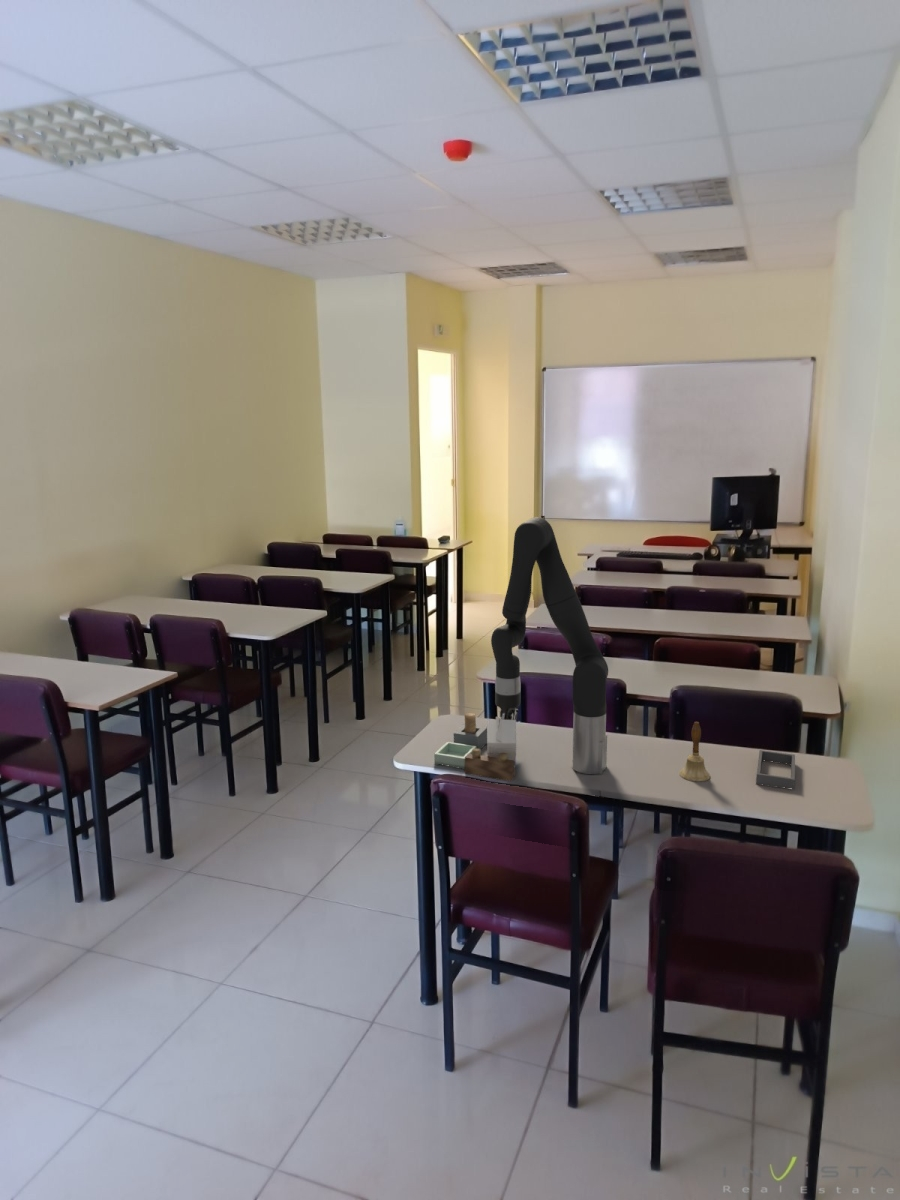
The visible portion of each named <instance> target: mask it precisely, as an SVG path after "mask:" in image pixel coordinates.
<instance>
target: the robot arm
mask: <svg viewBox="0 0 900 1200" xmlns="http://www.w3.org/2000/svg"><path fill="white" fill-rule="evenodd" d="M512 550H513V552H512V563H511V569H510V576H509V581H508V585H507V588H506V592H505V597H504V602H503V605H502V611H501V613H502V616H503V617H504V618H505V619H506V623H505V624H504V625H501V626H499V627H496V628H495V629H494V631H493V632H492V634H491V637H490V642H491V648H492V652H493V656H494V660H495V682H494V683H495V685H494V687H495V688H494V690H495V693H494V699H495V700H494V703H495V706H497V707H498V708H499V709H500V711H499V718H500V719H502V720H516V721H517V720H518V715H519V709H518V708H519V707H520V706H521V696H522V695H521V688H522V687H521V686H522V685H521V676H520V675H521V673H520V671H521V663H520V658H519V657H518V656H517V655H515V654H514V653H513V648H515V647H517V646H520V644H522V642H523V641H524V639H525V637H526V632H527V631H526V630H527V617H526V615H527V612H528V608H529V605H530V600H531V596H532V580H533V579H532V578H533V571H534V567H535V564H536V563H537V567H538V569H539V573H540V583H541V589H542V590H541V592H542V597H543V602H544V604H545V606H546V609H547V612H548V614H549V616H550V618H551V620H552V622H553V624H554V626H555V627H556V628H557V630H558V631H559V633H560V634H561V635H562V636H563V638H564V639H565V641H566V642H567V644H568V646H569V649H570V651H571V654H572V656H573V660H574V663H575V664H574V665H575V667H574V669H573V672H572V705H573V720H572V721H573V725H572V769H573V770H574V771H576V772H577V773H580V774H584V775H596V774H598V775H599V774H600V775H602V774H603V773H604V771H605V769H606V768H607V764H608V763H607V762H608V761H607V759H608V757H607V755H608V735H607V734H606V733H607V730H606V729H607V728H606V726H607V699H606V697H607V696H606V695H607V679H608V676H609V666H608V663H607V661H606V659H605V657H604V656H603V654H602V652H601V650H600V649H599V647H598V645H597V642H596V641H595V639H594V637H593V635H592V632H591V628H590V626H589V623H588V619H587V616H586V614H585V610H584V609H583V608H584V607H583V606H582V603H581V601H580V600H581V599H580V597H579V595H578V594H577V591H576V588H575V587H574V584H573V582H572V579H571V577H570V575H569V574H570V573H569V572H568V570H567V568H566V565H565V563H564V561H563V559H562V556H561V555H562V554H561V553H560V549H559V545H558V543H557V538H556V535H555V531H554V529H553V527H552V526H551V523H549V522H548V521H547V520H546V519H545V518H544V517H543V518H542V517H540V516H539V517H537V516H535V517H532V518H529V519H528V520H526V521H524V522H522V523H520V524H519V525H518V526H517V528H516V530H515V532H514V537H513V549H512Z"/></svg>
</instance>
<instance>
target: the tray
mask: <svg viewBox="0 0 900 1200" xmlns="http://www.w3.org/2000/svg"><path fill="white" fill-rule="evenodd" d="M473 749H477V746H472V745H465V744H459V743H454V742H453V741H452V742H451V741H446V742H445V743H444V744H443V745H442V746H441V747H440V748H439V749H438V750H436V752H435V753H434V755H433V757H434V758H433V759H434V765H437V764H443V765H449V766H454V767H453V768H455V767H459V768H458V769H461V768H462V770H465V757H466V756H467V755H468V753H470V754H472V750H473ZM443 765H442V766H443ZM449 766H448V767H449Z"/></svg>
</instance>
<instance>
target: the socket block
mask: <svg viewBox="0 0 900 1200" xmlns="http://www.w3.org/2000/svg"><path fill="white" fill-rule="evenodd" d="M453 743H459V744H465V745H472V746H477V749H480V750H481V749H482V748H483V747H484V746H485V745H487V726H479V725H476V733H475V734H472V733H465V723H463V724H462V725H461V726H459V728H458V729H456V730H455V731H454V732H453Z"/></svg>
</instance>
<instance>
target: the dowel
mask: <svg viewBox="0 0 900 1200" xmlns="http://www.w3.org/2000/svg"><path fill="white" fill-rule="evenodd" d="M476 718H477V717H476V714H475V713H472V712H468V713H465V714H464V724H465V733H472V734H475V733H476V726H477V724H476V723H477V719H476Z"/></svg>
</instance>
